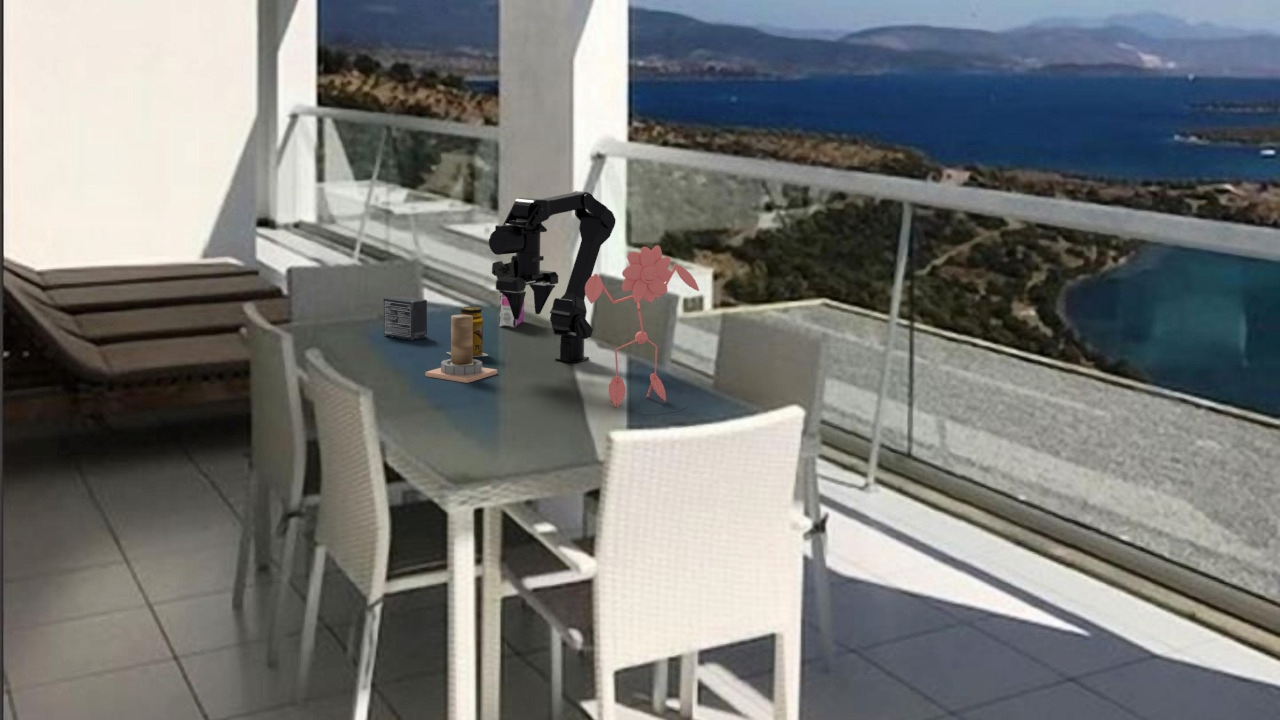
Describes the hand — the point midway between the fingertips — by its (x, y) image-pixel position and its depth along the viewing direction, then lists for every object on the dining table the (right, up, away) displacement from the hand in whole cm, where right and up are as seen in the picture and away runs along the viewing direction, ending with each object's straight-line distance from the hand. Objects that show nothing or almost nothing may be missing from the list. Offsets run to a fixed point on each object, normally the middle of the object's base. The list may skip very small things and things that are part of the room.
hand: (527, 316), depth 310 cm
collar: (-15, -14, -5) cm, 21 cm away
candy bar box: (-10, 0, +61) cm, 62 cm away
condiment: (-17, -9, +18) cm, 26 cm away
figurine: (+28, -21, -30) cm, 46 cm away
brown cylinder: (-15, -13, -5) cm, 20 cm away
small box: (-36, -4, +38) cm, 53 cm away
